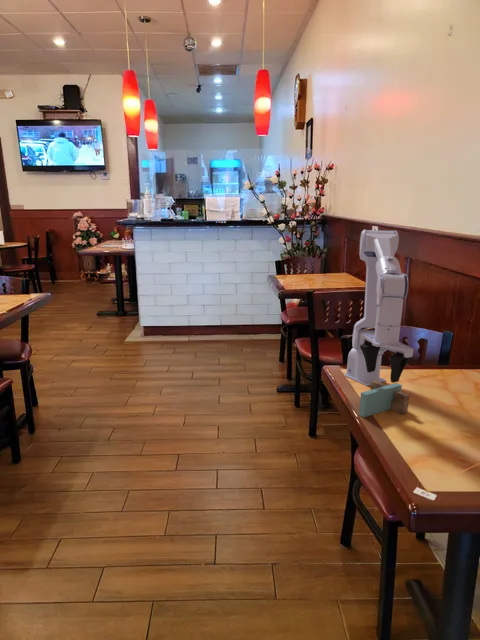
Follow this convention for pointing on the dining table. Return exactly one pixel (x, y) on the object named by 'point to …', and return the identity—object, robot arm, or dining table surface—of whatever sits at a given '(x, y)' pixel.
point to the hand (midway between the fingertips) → (382, 376)
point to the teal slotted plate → (377, 399)
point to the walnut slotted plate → (395, 398)
